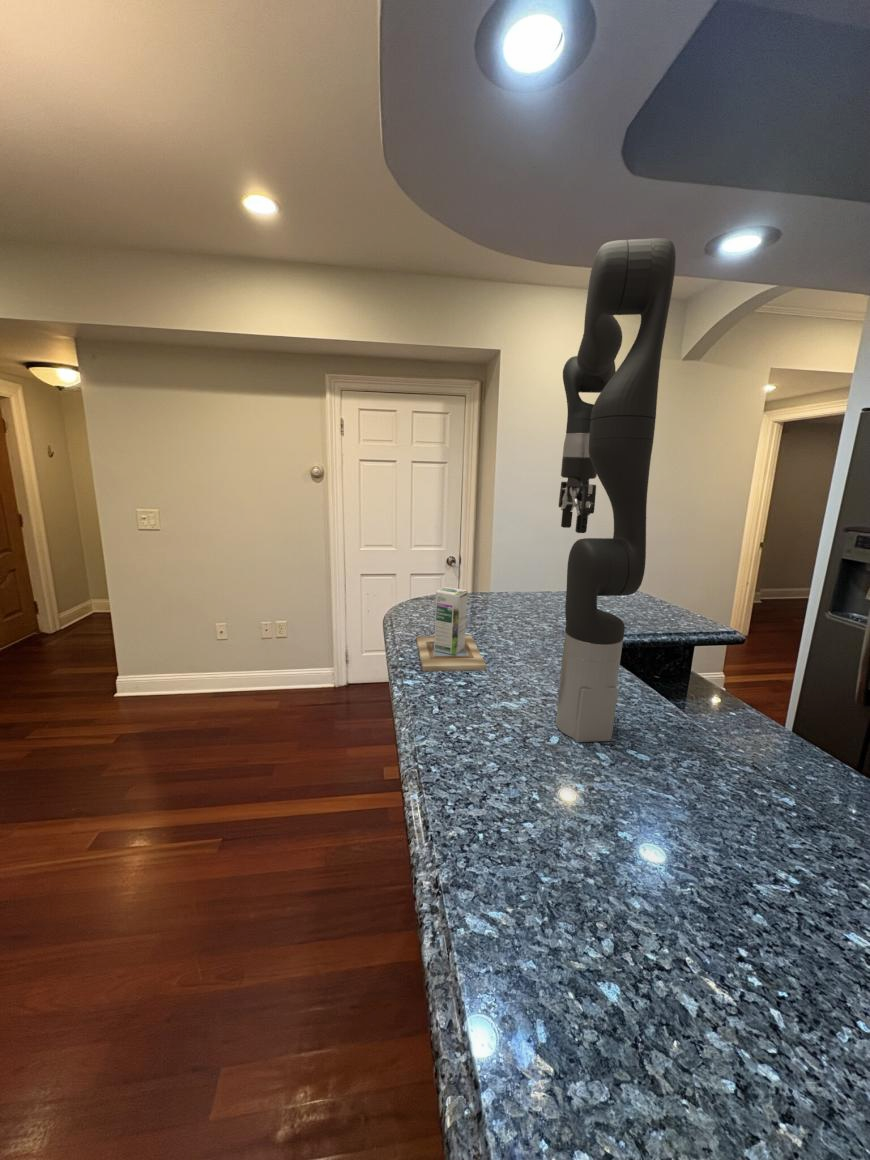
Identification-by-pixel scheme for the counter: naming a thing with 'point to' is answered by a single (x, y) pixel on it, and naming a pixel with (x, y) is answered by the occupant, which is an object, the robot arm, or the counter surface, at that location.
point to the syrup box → (450, 620)
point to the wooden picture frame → (449, 656)
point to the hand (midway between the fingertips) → (572, 530)
